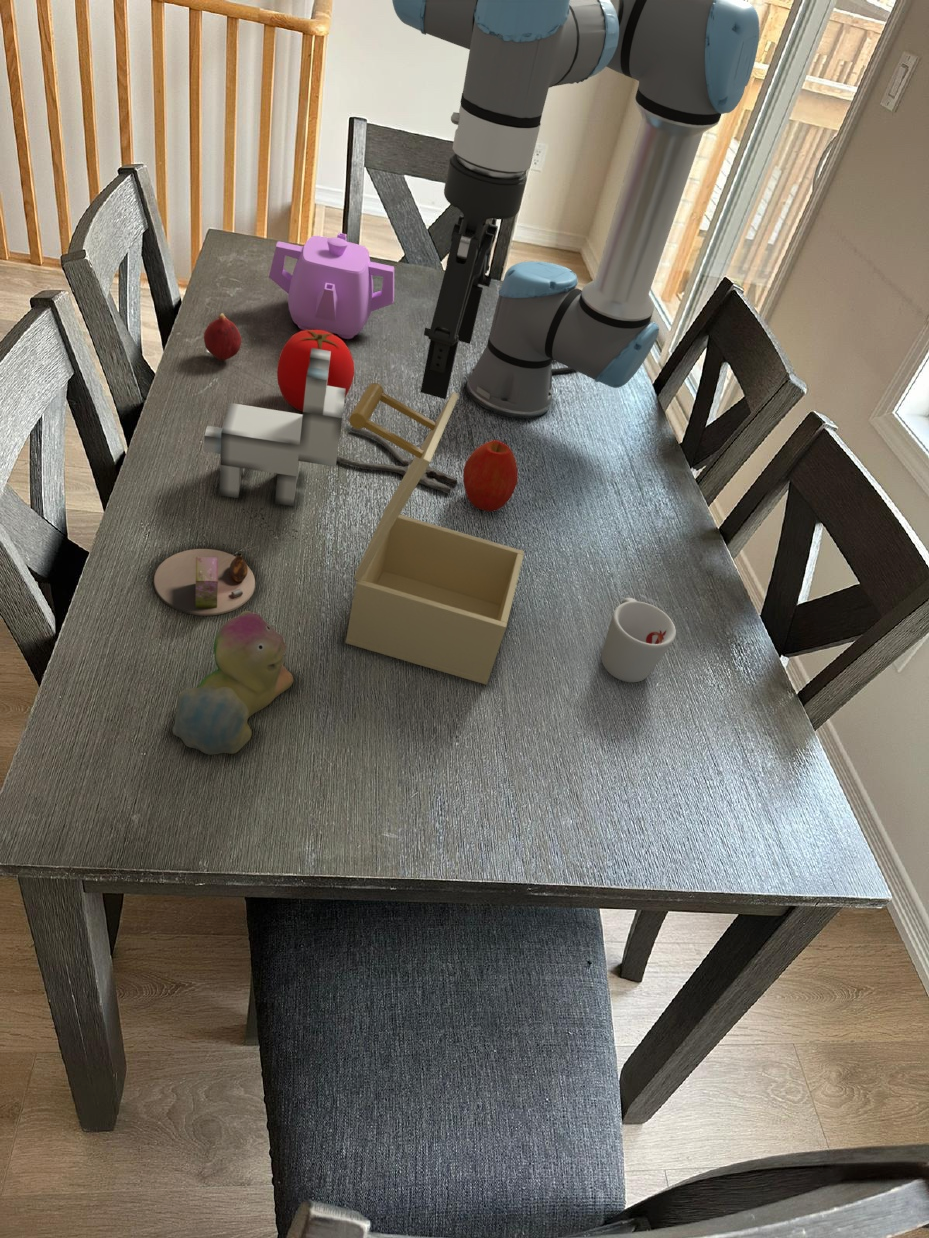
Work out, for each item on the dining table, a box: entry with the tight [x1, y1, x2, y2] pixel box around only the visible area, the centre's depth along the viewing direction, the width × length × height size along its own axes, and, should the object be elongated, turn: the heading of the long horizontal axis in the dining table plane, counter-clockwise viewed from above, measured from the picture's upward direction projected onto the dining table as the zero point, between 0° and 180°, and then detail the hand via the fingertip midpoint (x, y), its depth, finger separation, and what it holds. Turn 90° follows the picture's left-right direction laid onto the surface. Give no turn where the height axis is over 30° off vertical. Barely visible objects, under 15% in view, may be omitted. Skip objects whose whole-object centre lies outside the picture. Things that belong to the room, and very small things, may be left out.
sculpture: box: [172, 610, 294, 755], centre depth 92 cm, size 15×8×10 cm, turn 164°
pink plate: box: [152, 548, 256, 617], centre depth 107 cm, size 12×12×4 cm
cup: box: [601, 597, 677, 683], centre depth 112 cm, size 11×8×8 cm
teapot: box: [268, 232, 395, 340], centre depth 159 cm, size 19×18×15 cm
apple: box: [462, 439, 519, 513], centre depth 129 cm, size 8×8×11 cm
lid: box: [348, 382, 460, 581], centre depth 98 cm, size 18×15×9 cm
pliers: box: [337, 426, 458, 494], centre depth 136 cm, size 10×1×20 cm
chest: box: [345, 513, 525, 686], centre depth 108 cm, size 18×15×10 cm
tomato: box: [276, 329, 355, 413], centre depth 138 cm, size 12×12×13 cm
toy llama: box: [203, 348, 346, 507], centre depth 118 cm, size 8×18×20 cm, turn 92°
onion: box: [203, 312, 242, 362], centre depth 144 cm, size 6×6×8 cm
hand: (446, 365), depth 98 cm, fingers open, 13 cm apart
